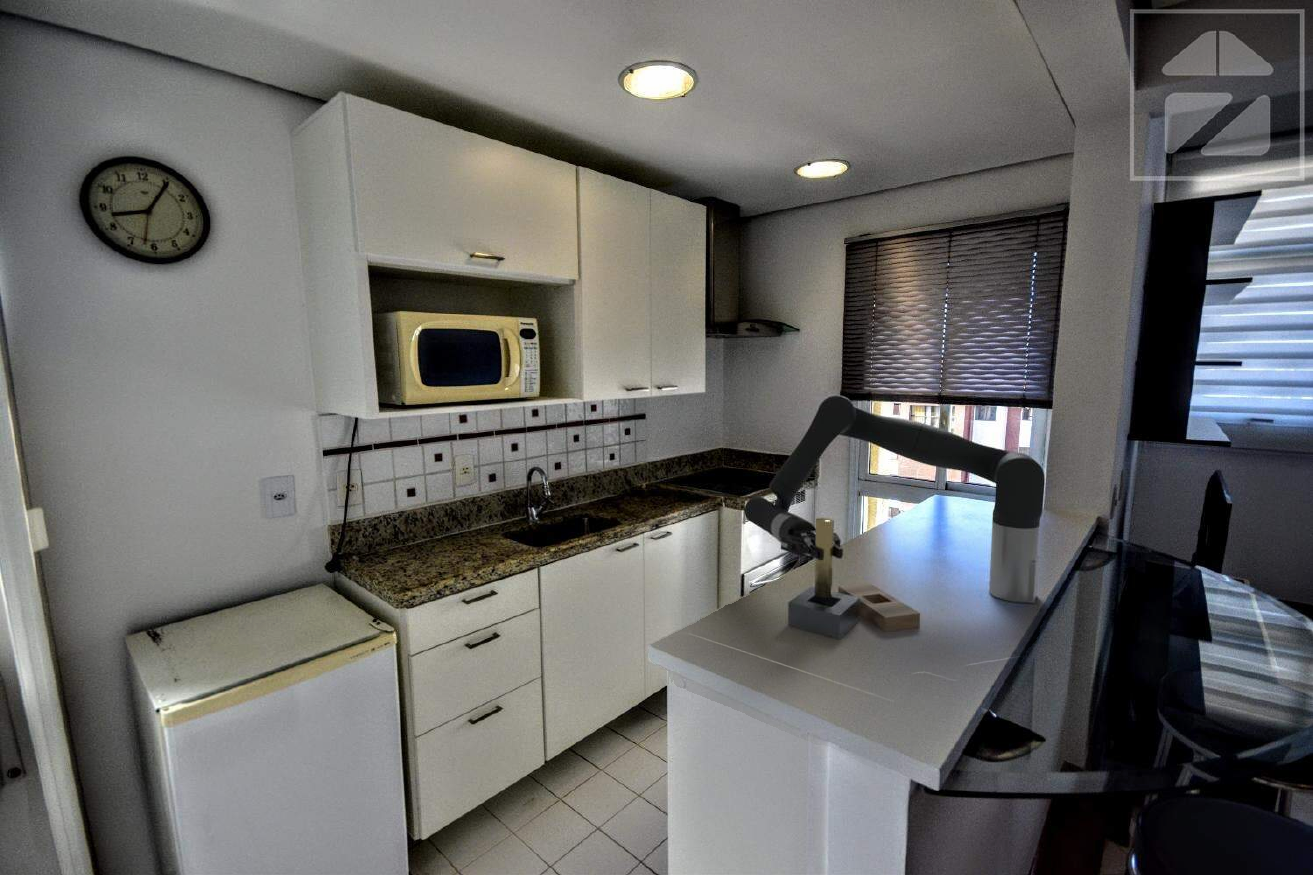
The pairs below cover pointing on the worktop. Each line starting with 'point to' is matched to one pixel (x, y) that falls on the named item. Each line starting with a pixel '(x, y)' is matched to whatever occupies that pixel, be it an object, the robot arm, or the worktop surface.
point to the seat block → (824, 613)
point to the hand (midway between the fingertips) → (831, 554)
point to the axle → (826, 565)
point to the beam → (882, 607)
